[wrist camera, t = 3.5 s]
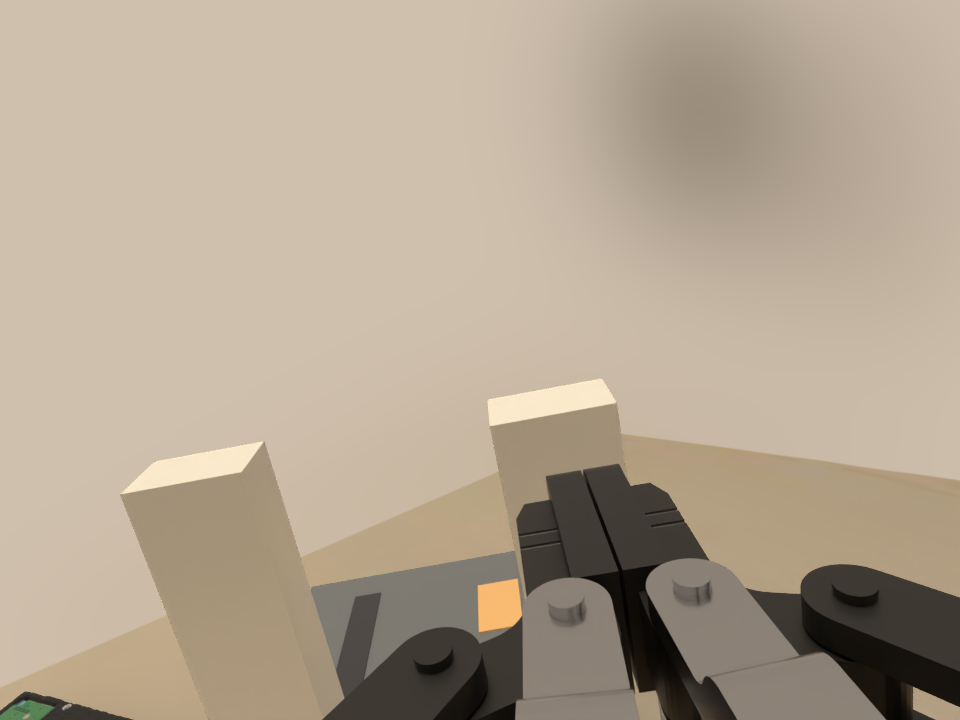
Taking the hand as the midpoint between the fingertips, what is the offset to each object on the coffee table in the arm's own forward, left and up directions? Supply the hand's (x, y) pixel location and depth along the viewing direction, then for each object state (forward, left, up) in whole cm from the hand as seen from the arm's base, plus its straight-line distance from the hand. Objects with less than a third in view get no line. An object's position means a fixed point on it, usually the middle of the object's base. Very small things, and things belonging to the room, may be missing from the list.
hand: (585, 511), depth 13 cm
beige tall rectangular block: (+12, -8, -16) cm, 22 cm away
